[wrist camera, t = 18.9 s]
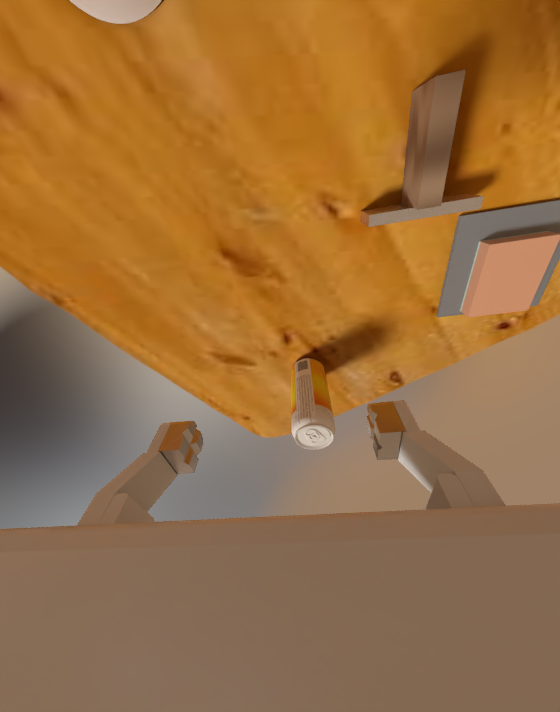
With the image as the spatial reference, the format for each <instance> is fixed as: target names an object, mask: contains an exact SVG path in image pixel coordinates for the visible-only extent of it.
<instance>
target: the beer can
mask: <svg viewBox="0 0 560 712" xmlns="http://www.w3.org/2000/svg"><path fill="white" fill-rule="evenodd" d="M291 419H292V435H293V437H294V438H295V441H296V443H297V444H298V445H299V446H301V447H303V448H306V449H321V448H324V447H326V446H328V445H329V444H330V443H331V442H332V441H333V438H334V434H335V424H334V419H333V413H332V408H331V402H330V397H329V391H328V386H327V381H326V375H325V370H324V366H323V365H322V364H321V363H320V362H319V361H317V360H315V359H311V358H305V359H301V360H299V361H298V362H296V363H295V364H294V365H293V366H292V369H291Z"/></svg>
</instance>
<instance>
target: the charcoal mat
mask: <svg viewBox="0 0 560 712" xmlns="http://www.w3.org/2000/svg"><path fill="white" fill-rule="evenodd" d="M543 231H550V232H555V233H559V234H560V199H559V200H553V201H547V202H540V203H534V204H528V205H522V206H515V207H509V208H503V209H497V210H491V211H484V212H478V213H472V214H466V215H459V218H458V223H457V227H456V232H455V236H454V240H453V245H452V249H451V254H450V258H449V263H448V267H447V272H446V276H445V281H444V285H443V290H442V294H441V298H440V303H439V307H438V312H437V317H444V316H452V315H461V314H463V313H462V312H461V311H460V309H461V305H462V302H463V298H464V294H465V291H466V287H467V284H468V280H469V276H470V273H471V269H472V266H473V262H474V258H475V255H476V251H477V248H478V244H479V241H483V240H490V239H497V238H503V237H510V236H517V235H523V234H530V233H537V232H543ZM559 258H560V240H559V242H558V244H557V247H556V249H555V251H554V253H553V255H552V258H551V260H550V262H549V264H548V267H547V269H546V271H545V273H544V276H543V278H542V280H541V282H540V285H539V287H538V289H537V291H536V293H535V296H534V298H533V300H532V302H531V305H530V306H536V305H538V303H539V301H540V299H541V297H542V295H543V292H544V290H545V288H546V286H547V284H548V282H549V280H550V277H551V275H552V273H553V271H554V269H555V267H556V265H557V262H558V260H559Z"/></svg>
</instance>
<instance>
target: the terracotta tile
mask: <svg viewBox="0 0 560 712" xmlns="http://www.w3.org/2000/svg"><path fill="white" fill-rule="evenodd" d="M559 240H560V234H559V233H555V232H550V231H543V232H537V233H530V234H523V235H517V236H510V237H503V238H497V239H490V240H483V241H479V244H478V248H477V251H476V255H475V258H474V262H473V266H472V269H471V273H470V276H469V280H468V284H467V287H466V291H465V294H464V298H463V302H462V305H461V309H460V311H461V312H462V313H463V314H464V315H466V316H467V317H474V316H483V315H491V314H499V313H508V312H516V311H525V310H528V309H529V307H530V305H531V302H532V300H533V298H534V296H535V293H536V291H537V289H538V287H539V285H540V282H541V280H542V278H543V276H544V273H545V271H546V269H547V267H548V264H549V262H550V260H551V258H552V255H553V253H554V251H555V249H556V247H557V244H558V242H559Z"/></svg>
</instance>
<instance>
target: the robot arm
mask: <svg viewBox="0 0 560 712" xmlns="http://www.w3.org/2000/svg"><path fill="white" fill-rule="evenodd" d="M70 1H71V2H72V3H73V4H74V5H76V6H77V7H78V8H80V9H81V10H83V11H84V12H86V13H87V14H89V15H91V16H93V17H95V18H97V19H100V20H103V21H106V22H110V23H117V24H124V23H131V22H135V21H137V20H140V19H142V18H144V17H145V16H147V15H148V14H149V13H151V12H152V11H153V10H154V9H155V8H156V7H157V6H158V5H159V3H160V2H161V1H162V0H70ZM367 410H368V413H369V415H368V416H367V426H368V431H369V435H370V438H372V439H373V448H374V451H375V454H376V457H377V460H386V459H398V461H399V462H400V463H401V464H402V465H404V466H405V467H406V468H407V469H408V470H409V471H410V472H411V473H412V474H413V475H414V476H415V477H416V478H417V479H418V480H419V481H420V482H421V483H422V484H423V485H424V486H425V487H426V488H427V489H428V490H429V491H430V492H431V496H430V499H429V501H428V504H427V507H426V509H425V510H404V511H382V512H363V513H362V512H360V513H338V514H316V515H296V516H295V515H294V516H272V517H251V518H229V519H207V520H186V521H164V522H154V518H153V517H152V516H151V515H149V514H148V513H147V512H148V510H149V509H150V508H151V507H152V505H153V504H154V503H155V502H156V501H157V499H158V498H159V497H160V496H161V495H162V493H163V492H164V491H165V490H166V489H167V487H168V486H169V485H170V484H171V483H172V481H173V480H174V479H175V478H176V476H177V474H185V473H194V472H195V469H196V466H197V463H198V457H197V455H198V454H199V453H200V452H201V450H202V446H203V437H202V434H201V432H200V431H199V430H197V429H196V427H197V425H196V423H195V422H194V421H185V422H172V423H163V424H162V425H161V426H160V427H159V429H158V431H157V433H156V435H155V437H154V439H153V441H152V443H151V445H150V447H149V449H148V451H147V453H144V454H142V455H141V456H140V457H139V458H137V459H136V460H135V461H134V462H133V463H132V464H131V465H129V466H128V467H127V468H126V469H124V470H123V471H122V472H121V473H120V474H119V475H117V476H116V477H115V478H114V479H113V480H112V481H111V482H109V483H108V484H107V485H106V486H105V487H104V488H102V489H101V490H100V491H99V492H98V493H97V494H96V495H95V497H94V498H93V500H92V502H91V503H90V505H89V506H88V508H87V510H86V511H85V513H84V515H83V516H82V518H81V520H80V521H79V523H78V525H77V526H55V527H32V528H9V529H0V712H560V503H558V504H557V503H555V504H534V505H511V506H506V505H505V504H504V502H503V501H502V499H501V498H500V496H499V494H498V493H497V492H496V490H495V488H494V487H493V485H492V484H491V482H490V481H489V479H488V478H487V476H486V475H485V473H484V471H483V470H482V469H480V468H479V467H477V466H476V465H474V464H473V463H471V462H470V461H468V460H467V459H465V458H464V457H463V456H461V455H459V454H458V453H457V452H455V451H454V450H452V449H451V448H449V447H448V446H446V445H445V444H443V443H442V442H441V441H439V440H437V439H436V438H435V437H433V436H432V435H430V434H428V433H427V432H426V431H421V430H420V428H419V427H418V425H417V423H416V421H415V419H414V417H413V415H412V413H411V411H410V409H409V407H408V406H407V404H406V402H405V401H404V400H402V401H392V402H381V403H372V404H368V408H367Z"/></svg>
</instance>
